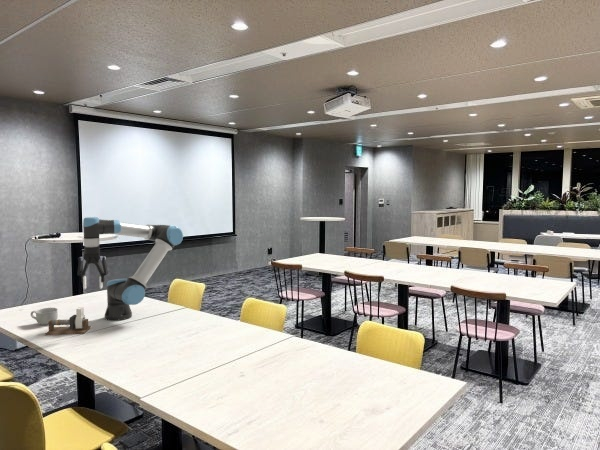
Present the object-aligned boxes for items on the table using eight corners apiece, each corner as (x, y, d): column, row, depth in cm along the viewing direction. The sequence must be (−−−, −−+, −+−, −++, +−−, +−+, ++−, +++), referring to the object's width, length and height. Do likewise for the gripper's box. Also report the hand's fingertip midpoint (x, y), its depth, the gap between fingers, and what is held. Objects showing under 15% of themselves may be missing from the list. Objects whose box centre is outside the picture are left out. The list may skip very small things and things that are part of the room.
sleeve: (85, 325, 234) (84, 306, 233) (81, 328, 228) (80, 309, 228) (79, 325, 234) (79, 306, 233) (75, 328, 228) (74, 309, 227)
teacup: (62, 321, 248) (61, 307, 248) (49, 327, 238) (49, 312, 237) (39, 320, 250) (39, 307, 249) (26, 326, 239) (25, 312, 238)
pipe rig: (91, 327, 237) (90, 315, 237) (83, 333, 226) (83, 321, 226) (54, 328, 235) (54, 317, 234) (45, 335, 224) (44, 323, 223)
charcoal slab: (77, 325, 234) (77, 314, 233) (72, 329, 228) (72, 317, 227) (74, 325, 234) (74, 314, 233) (69, 329, 227) (69, 317, 227)
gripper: (113, 245, 234) (115, 286, 236) (74, 245, 231) (75, 287, 233) (109, 246, 226) (110, 289, 228) (68, 247, 224) (70, 290, 225)
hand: (93, 288), depth 230 cm, fingers open, 8 cm apart
